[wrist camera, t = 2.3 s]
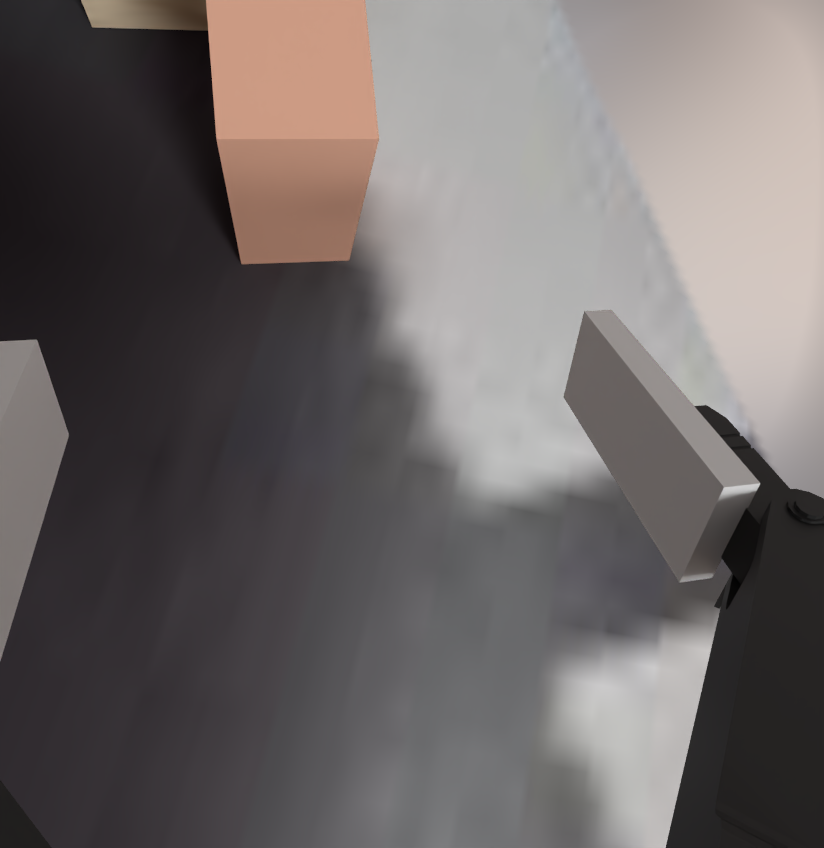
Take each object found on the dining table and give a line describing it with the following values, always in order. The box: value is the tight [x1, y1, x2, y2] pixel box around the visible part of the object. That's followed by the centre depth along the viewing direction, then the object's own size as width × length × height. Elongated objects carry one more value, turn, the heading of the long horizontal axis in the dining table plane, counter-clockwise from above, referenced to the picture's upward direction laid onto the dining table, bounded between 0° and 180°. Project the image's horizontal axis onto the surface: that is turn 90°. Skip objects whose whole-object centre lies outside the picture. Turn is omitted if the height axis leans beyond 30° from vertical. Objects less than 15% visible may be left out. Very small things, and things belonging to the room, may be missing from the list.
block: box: [206, 0, 379, 264], centre depth 27 cm, size 5×5×11 cm
